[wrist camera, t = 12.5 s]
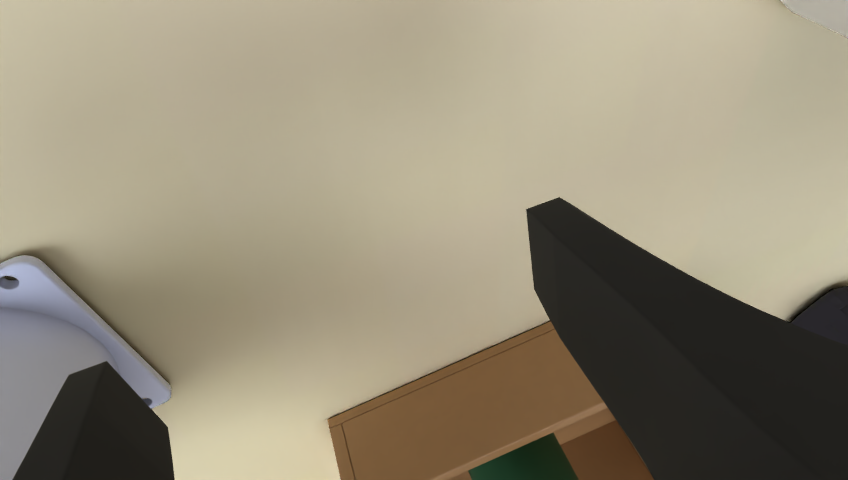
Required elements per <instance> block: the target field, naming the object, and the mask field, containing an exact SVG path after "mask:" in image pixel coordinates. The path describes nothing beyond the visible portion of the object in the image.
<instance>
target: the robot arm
mask: <svg viewBox="0 0 848 480" xmlns="http://www.w3.org/2000/svg"><path fill="white" fill-rule="evenodd" d="M526 211H527V221H528V231H529V241H530V251H531V261H532V271H533V281H534V290H535V292H536V294H537V296H538V297H539V299H540V301H541V303H542V305H543V307H544V309H545V311H546V313H547V315H548V317H549V319H550V321H551V323H552V324H553V326H554V328H555V330H556V332H557V334H558V336H559V337H560V339H561V340H562V342H563V343H564V345H565V346H566V348H567V349H568V351H569V352H570V354H571V355H572V357H573V358H574V360H575V361H576V362H577V364H578V365H579V367H580V368H581V370H582V371H583V373H584V374H585V376H586V377H587V378H588V380H589V381H590V383H591V384H592V386H593V387H594V389H595V390H596V391H597V393H598V394H599V396H600V397H601V399H602V400H603V402H604V403H605V404H606V406H607V407H608V409H609V410H610V412H611V413H612V414H613V416H614V417H615V419H616V420H617V422H618V423H619V425H620V426H621V427H622V429H623V430H624V432H625V433H626V435H627V436H628V438H629V439H630V441H631V442H632V444H633V445H634V447H635V448H636V450H637V452H638V453H639V455H640V456H641V458H642V459H643V461H644V463H645V464H646V466H647V468H648V470H649V471H650V473H651V475H652V477H653V479H654V480H848V345H846V344H843V343H840V342H837V341H834V340H831V339H829V338H826V337H824V336H821V335H818V334H816V333H813V332H811V331H808V330H806V329H803V328H801V327H798V326H796V325H794V324H791V323H789V322H787V321H784V320H782V319H780V318H777V317H775V316H773V315H770V314H768V313H766V312H763V311H761V310H759V309H756V308H754V307H752V306H750V305H748V304H746V303H743V302H741V301H739V300H737V299H735V298H733V297H731V296H729V295H727V294H725V293H723V292H721V291H719V290H717V289H715V288H713V287H711V286H709V285H707V284H705V283H703V282H701V281H699V280H697V279H696V278H694V277H692V276H690V275H688V274H686V273H684V272H683V271H681V270H679V269H677V268H675V267H674V266H672V265H670V264H668V263H667V262H665V261H663V260H661V259H660V258H658V257H656V256H654V255H653V254H651V253H649V252H647V251H646V250H644V249H642V248H640V247H639V246H637V245H635V244H634V243H632V242H630V241H629V240H627V239H625V238H624V237H622V236H621V235H619V234H617V233H616V232H614V231H613V230H611V229H609V228H608V227H606V226H605V225H603V224H601V223H600V222H598V221H597V220H595V219H593V218H592V217H590V216H589V215H587V214H586V213H584V212H583V211H581V210H579V209H578V208H576V207H575V206H573V205H572V204H570V203H568V202H567V201H565V200H563V199H562V198H560V197H559V198H556V199H553V200H550V201H548V202H545V203H542V204H539V205H537V206H534V207H531V208H528V209H526ZM3 276H13V277H15V278H16V279H18V280H13V281H12V280H7V279H5V278H3ZM142 398H146V399H142ZM170 398H171V386H170V384H169V383H168V382H167V381H166V380H165V379H164V378H163V377H161V376H160V375H159V374H158V373H157V372H156V371H155V370H154V369H153V368H152V367H151V366H150V365H149V364H148V363H147V362H146V361H145V360H144V359H143V358H142V357H141V356H140V355H139V354H138V353H137V352H136V351H135V350H134V349H133V348H131V347H130V346H129V345H128V344H127V343H126V342H125V341H124V340H123V339H122V338H121V337H120V336H119V335H118V334H117V333H116V332H115V331H114V330H113V329H112V328H111V327H110V326H109V325H108V324H107V323H106V322H105V321H104V320H103V319H101V318H100V317H99V316H98V315H97V314H96V313H95V312H94V311H93V310H92V309H91V308H90V307H89V306H88V305H87V304H86V303H85V302H84V301H83V300H82V299H81V298H80V297H79V296H78V295H77V294H76V293H75V292H74V291H73V290H71V289H70V288H69V287H68V286H67V285H66V284H65V283H64V282H63V281H62V280H61V279H60V278H59V277H58V276H57V275H56V274H55V273H54V272H53V271H52V270H51V269H50V268H49V267H48V266H47V265H46V264H45V263H44V262H43V261H41V260H40V259H38V258H36V257H33V256H27V255H21V256H17V257H14V258H11V259H9V260H7V261H4V262H2V263H0V480H174V471H173V462H172V454H171V447H170V440H169V433H168V427H167V426H166V425H165V424H164V422H163V421H162V420H161V419H160V418H159V417H158V416H157V415H156V414H155V413H154V412H153V411H152V408H154V407H156V406H158V405H161V404H163V403H165V402H167V401H168V400H169V399H170Z"/></svg>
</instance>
